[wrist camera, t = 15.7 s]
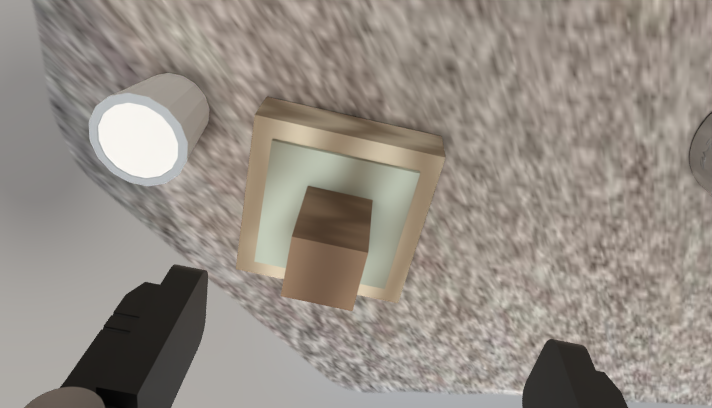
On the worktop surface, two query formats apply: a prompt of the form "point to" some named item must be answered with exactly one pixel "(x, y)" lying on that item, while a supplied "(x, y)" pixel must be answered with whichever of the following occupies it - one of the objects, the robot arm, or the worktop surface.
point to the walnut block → (328, 248)
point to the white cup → (149, 128)
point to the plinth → (337, 186)
